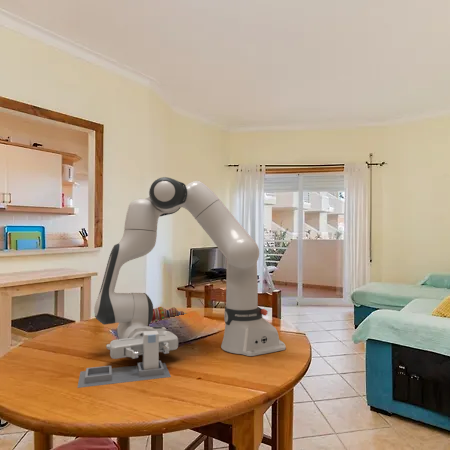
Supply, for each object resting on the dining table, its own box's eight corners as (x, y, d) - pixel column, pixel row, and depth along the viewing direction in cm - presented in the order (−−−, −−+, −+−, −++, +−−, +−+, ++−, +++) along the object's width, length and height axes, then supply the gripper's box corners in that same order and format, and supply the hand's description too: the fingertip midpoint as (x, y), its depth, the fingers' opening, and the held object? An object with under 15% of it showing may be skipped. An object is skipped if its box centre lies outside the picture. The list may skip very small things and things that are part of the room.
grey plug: (156, 368, 107) (157, 330, 107) (158, 374, 102) (159, 334, 102) (142, 369, 105) (143, 331, 106) (144, 375, 101) (144, 335, 101)
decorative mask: (124, 303, 167) (188, 300, 176) (124, 319, 167) (188, 316, 176) (127, 314, 145) (200, 311, 154) (126, 333, 145) (200, 328, 154)
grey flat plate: (165, 364, 111) (165, 357, 111) (171, 378, 100) (171, 370, 100) (80, 373, 103) (80, 365, 103) (77, 390, 93) (77, 381, 93)
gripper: (105, 334, 111) (114, 347, 99) (169, 326, 120) (184, 337, 108) (104, 355, 111) (113, 370, 98) (169, 345, 120) (184, 358, 108)
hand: (151, 353), depth 103 cm, fingers open, 8 cm apart
